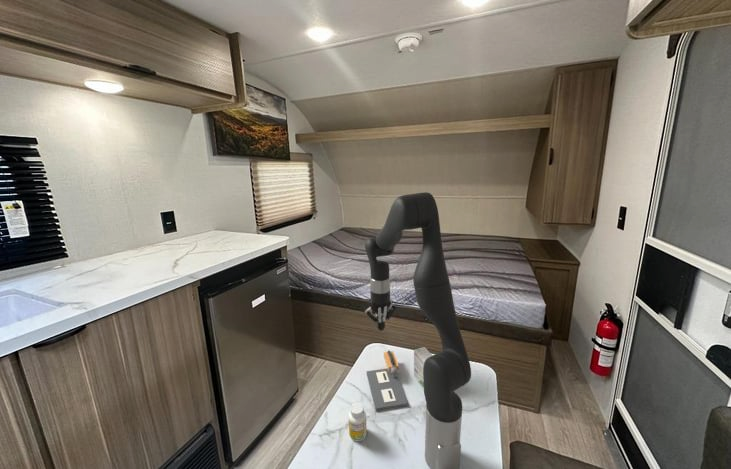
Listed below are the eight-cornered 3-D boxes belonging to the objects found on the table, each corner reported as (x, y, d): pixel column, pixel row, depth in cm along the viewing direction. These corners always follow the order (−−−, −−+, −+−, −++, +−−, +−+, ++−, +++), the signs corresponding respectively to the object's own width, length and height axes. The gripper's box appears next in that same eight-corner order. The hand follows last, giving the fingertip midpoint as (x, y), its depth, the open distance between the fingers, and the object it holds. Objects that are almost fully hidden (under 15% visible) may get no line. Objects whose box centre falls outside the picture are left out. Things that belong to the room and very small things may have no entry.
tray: (407, 406, 98) (407, 399, 97) (375, 411, 96) (375, 404, 96) (393, 370, 115) (393, 364, 115) (366, 373, 114) (366, 368, 113)
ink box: (436, 386, 106) (437, 359, 103) (425, 390, 104) (425, 362, 102) (423, 371, 114) (424, 345, 111) (412, 375, 112) (413, 349, 109)
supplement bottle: (355, 423, 92) (354, 398, 90) (370, 431, 89) (369, 405, 87) (345, 436, 88) (344, 410, 85) (360, 445, 85) (359, 418, 83)
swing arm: (389, 375, 108) (389, 368, 107) (383, 356, 119) (383, 349, 118) (400, 374, 109) (400, 367, 108) (393, 355, 120) (393, 348, 119)
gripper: (367, 295, 103) (368, 338, 107) (400, 289, 107) (400, 330, 111) (360, 287, 110) (361, 328, 114) (391, 282, 114) (392, 321, 118)
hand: (380, 329), depth 112 cm, fingers closed
